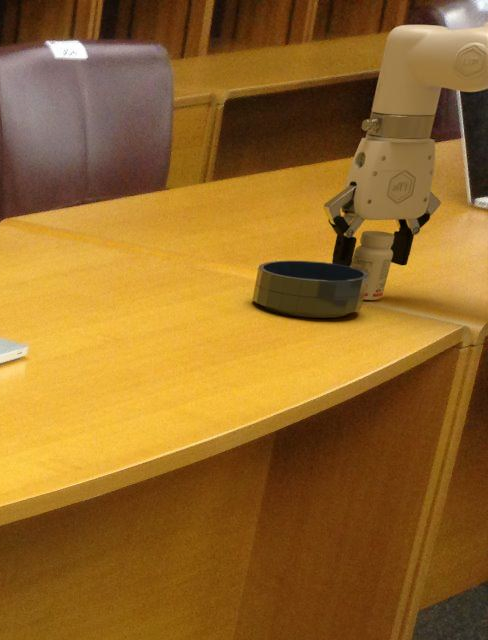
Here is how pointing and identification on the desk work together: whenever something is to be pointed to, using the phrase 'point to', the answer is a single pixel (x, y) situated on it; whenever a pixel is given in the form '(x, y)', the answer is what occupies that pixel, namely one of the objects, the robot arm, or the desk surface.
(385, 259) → the pill bottle
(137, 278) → the desk surface
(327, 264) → the bowl
